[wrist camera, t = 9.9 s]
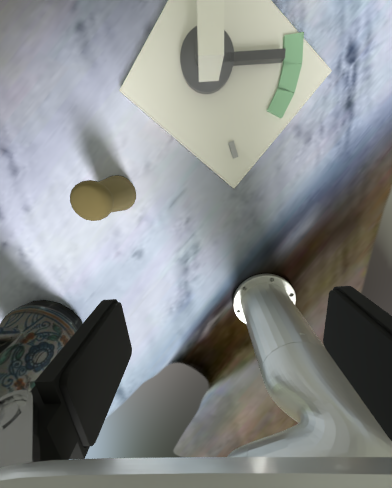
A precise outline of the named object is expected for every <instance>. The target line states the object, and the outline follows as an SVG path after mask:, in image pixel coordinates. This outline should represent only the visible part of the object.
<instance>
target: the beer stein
mask: <svg viewBox="0 0 392 488" xmlns="http://www.w3.org/2000/svg"><path fill="white" fill-rule="evenodd" d="M82 324H83V323H82V321H81V319H80V318H79V317H78V316H77V315H76V314H75V313H74V312H73V311H72V310H70V309H69V308H67V307H65V306H64V305H62V304H60V303H56V302H51V301H46V300H40V301H32V302H30V303H28V304H26V305H24V306H21V307H19V308H17V309H15V310H13V311H12V312H10V313H9V314H8V315H7V316H6V317H5V318H4V319H3V320H2V322H1V324H0V397H2V396H4V395H6V394H8V393H11V392H13V391H17V390H28V391H31V390H32V389H33V388H34V386H35V383H34V382H35V380H36V379H37V378H38V377H39V376H40V374H41V373H42V372H43V371H44V370H45V368H46V367H47V366H48V365H49V364H50V362H51V361H52V360H53V359H54V358H55V356H56V355H57V354H58V353H59V352H60V350H61V349H62V348H63V347H64V346H65V344H66V343H67V342H68V341H69V340H70V338H71V337H72V336H73V335H74V334H75V332H76V331H77V330H78V329H79V328H80V326H81V325H82Z"/></svg>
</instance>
